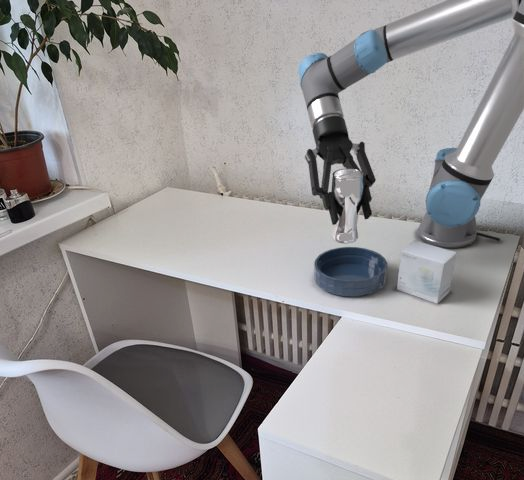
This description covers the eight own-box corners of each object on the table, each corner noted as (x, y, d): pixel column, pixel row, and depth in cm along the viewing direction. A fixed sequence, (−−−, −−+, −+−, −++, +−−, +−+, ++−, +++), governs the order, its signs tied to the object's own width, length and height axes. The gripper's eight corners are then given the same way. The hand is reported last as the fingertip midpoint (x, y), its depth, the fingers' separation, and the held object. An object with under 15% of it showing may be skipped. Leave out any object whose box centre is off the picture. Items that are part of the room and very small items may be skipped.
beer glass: (359, 245, 115) (363, 179, 106) (328, 244, 117) (330, 179, 107) (361, 231, 121) (365, 168, 111) (331, 230, 122) (333, 167, 113)
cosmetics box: (395, 290, 119) (400, 249, 113) (409, 279, 123) (414, 239, 117) (437, 304, 114) (444, 262, 107) (450, 292, 117) (458, 251, 111)
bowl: (385, 264, 130) (387, 248, 127) (385, 300, 116) (387, 283, 114) (318, 261, 133) (318, 245, 130) (310, 296, 119) (310, 279, 117)
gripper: (363, 128, 120) (387, 219, 117) (282, 139, 117) (305, 233, 114) (374, 108, 113) (400, 205, 110) (288, 119, 110) (313, 219, 107)
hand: (352, 219), depth 112 cm, fingers closed on beer glass, 7 cm apart
